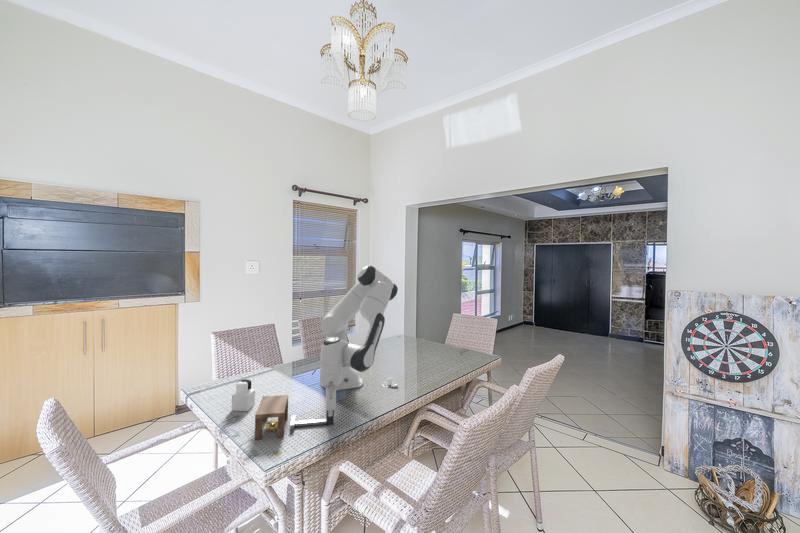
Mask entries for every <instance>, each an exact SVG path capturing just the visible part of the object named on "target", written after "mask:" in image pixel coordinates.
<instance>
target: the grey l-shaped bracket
mask: <svg viewBox="0 0 800 533" xmlns="http://www.w3.org/2000/svg"><path fill="white" fill-rule="evenodd" d="M330 399H331V398H330ZM325 410H326V409H325ZM296 418H297V415H296V414H295V415H291V420H290V423H289V432H295V428H296V427H304V426H305V427H306V426H307V427H308V426H317V425H318V426H319V425H325V426H334V424H335V423H334V420H335V419H334V418H335V410H333V416H331V417H329V416H328V411H327V410H326V415H325V418H319V419H318V418H317V419H316V418H314V419H303V420H297V419H296Z"/></svg>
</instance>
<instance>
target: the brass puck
mask: <svg viewBox="0 0 800 533" xmlns="http://www.w3.org/2000/svg"><path fill="white" fill-rule="evenodd" d="M265 431H267V432H275V431H278V420H269V421H266V423H265Z"/></svg>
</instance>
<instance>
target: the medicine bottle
mask: <svg viewBox="0 0 800 533" xmlns="http://www.w3.org/2000/svg"><path fill="white" fill-rule="evenodd" d="M235 383H236V384H235V385H236V386H235V388H236V389H235V390H236V391H235V392H234V393H232V395H231V411H233V412H249V410H250V409H251V408H253V407H254V406H255V404H256V389H255V388H252V380H250V379H247V378H246V379H241V380H238V381H237V382H235Z"/></svg>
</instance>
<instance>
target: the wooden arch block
mask: <svg viewBox="0 0 800 533" xmlns="http://www.w3.org/2000/svg"><path fill="white" fill-rule="evenodd" d="M288 417H289V394H285V395H283V394H281V395H280V394H279V395H266V396H264V395H263V396H262V397H261V400H260V403H259V406H258V407H257V410H256V412H255V416H254V440H255V441H259V440H261V439H262V437H263V436H262V432H263V431H262V429H263V422H268V419H273V418H277V421H278V429H277V439H281V438H282V439H283V438H284V437H285V420H288Z"/></svg>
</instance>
